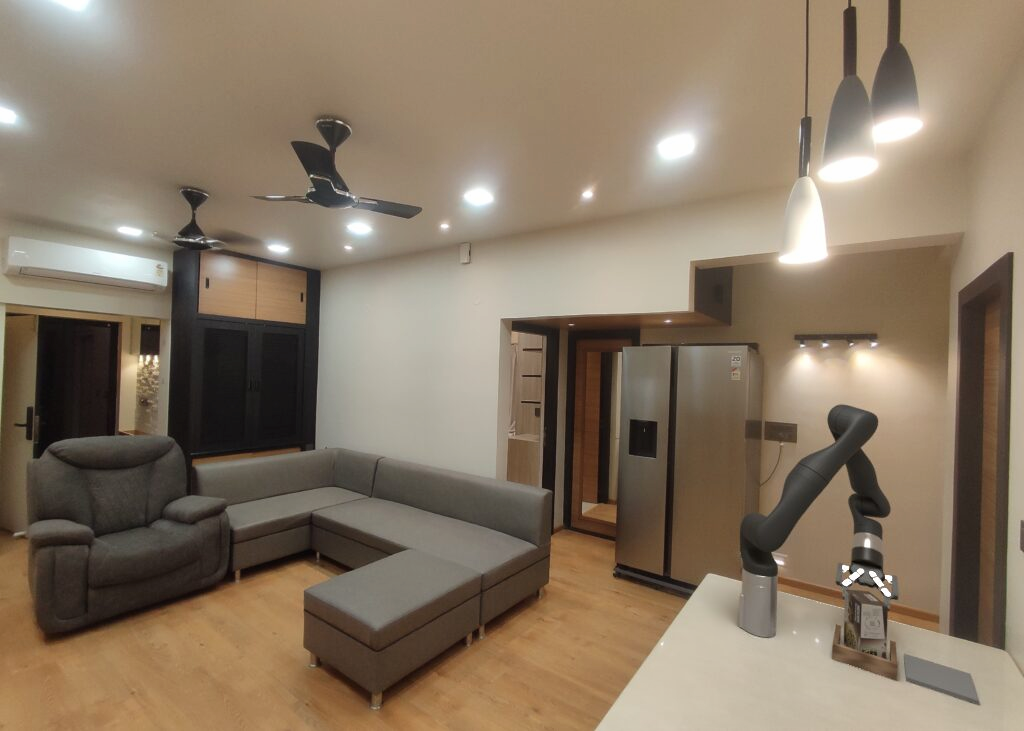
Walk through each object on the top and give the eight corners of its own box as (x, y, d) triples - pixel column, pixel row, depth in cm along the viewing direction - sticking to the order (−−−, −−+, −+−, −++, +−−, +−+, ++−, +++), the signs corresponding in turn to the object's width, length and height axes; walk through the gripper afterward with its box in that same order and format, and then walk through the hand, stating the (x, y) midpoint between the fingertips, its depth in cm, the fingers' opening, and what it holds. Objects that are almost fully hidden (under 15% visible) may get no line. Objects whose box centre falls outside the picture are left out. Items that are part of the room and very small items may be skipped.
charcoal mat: (906, 680, 117) (906, 676, 117) (903, 657, 127) (903, 653, 127) (979, 705, 109) (979, 700, 109) (970, 677, 119) (970, 673, 119)
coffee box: (887, 669, 122) (889, 606, 122) (859, 665, 123) (861, 603, 123) (868, 649, 131) (870, 590, 131) (842, 645, 132) (844, 587, 132)
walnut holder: (831, 659, 125) (832, 644, 125) (835, 638, 136) (835, 624, 136) (897, 681, 117) (897, 665, 117) (895, 656, 127) (895, 642, 127)
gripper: (837, 540, 142) (834, 591, 133) (898, 552, 133) (899, 608, 124) (838, 552, 146) (834, 603, 137) (897, 565, 137) (898, 620, 128)
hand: (865, 605), depth 131 cm, fingers open, 8 cm apart
